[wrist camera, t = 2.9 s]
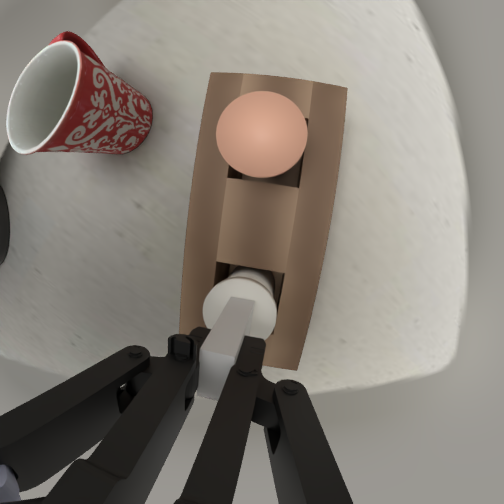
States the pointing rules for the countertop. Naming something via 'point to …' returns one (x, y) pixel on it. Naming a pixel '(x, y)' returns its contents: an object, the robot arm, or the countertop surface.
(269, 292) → the cream plug
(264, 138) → the terracotta plug
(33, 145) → the mug
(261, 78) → the walnut block
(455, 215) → the countertop surface
